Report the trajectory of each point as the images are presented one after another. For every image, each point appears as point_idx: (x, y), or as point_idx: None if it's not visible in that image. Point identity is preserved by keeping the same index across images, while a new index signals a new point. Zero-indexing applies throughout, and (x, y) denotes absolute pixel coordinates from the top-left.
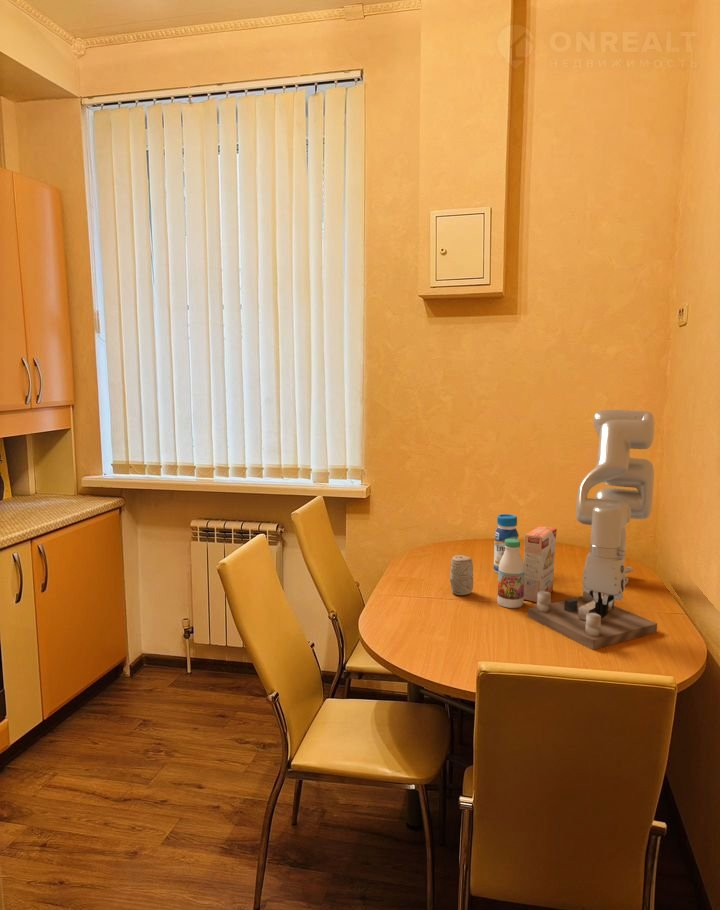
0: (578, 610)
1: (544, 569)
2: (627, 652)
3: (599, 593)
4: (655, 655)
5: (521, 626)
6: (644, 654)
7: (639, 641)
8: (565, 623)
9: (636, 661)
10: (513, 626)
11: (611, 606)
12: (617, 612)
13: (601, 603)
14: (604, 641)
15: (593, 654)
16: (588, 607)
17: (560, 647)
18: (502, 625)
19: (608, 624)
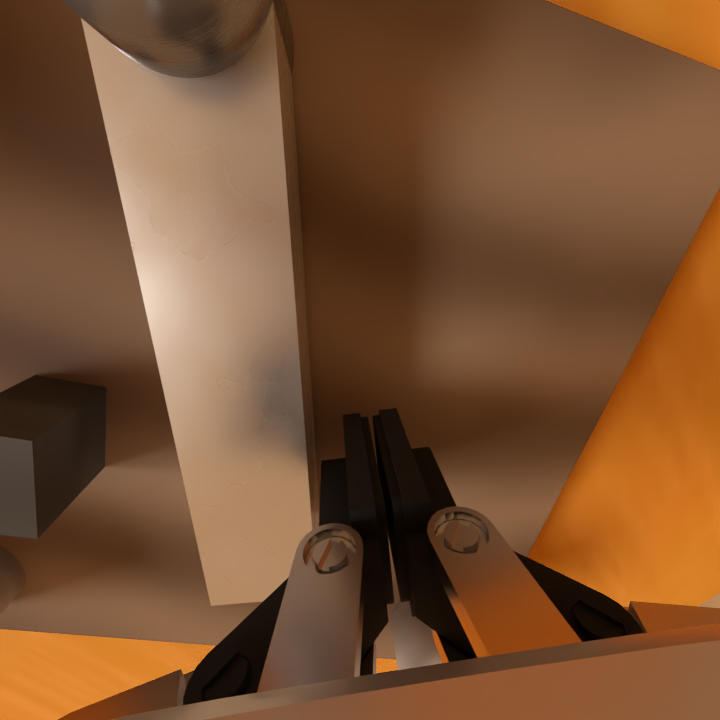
0: (110, 376)
1: None
2: (586, 527)
3: (333, 650)
4: (708, 461)
5: (66, 660)
6: (660, 489)
7: None
8: (238, 620)
9: (640, 567)
10: (46, 683)
11: (289, 84)
12: (371, 111)
13: (403, 585)
14: None
15: None
16: (265, 544)
17: None
18: (9, 708)
19: (439, 443)
